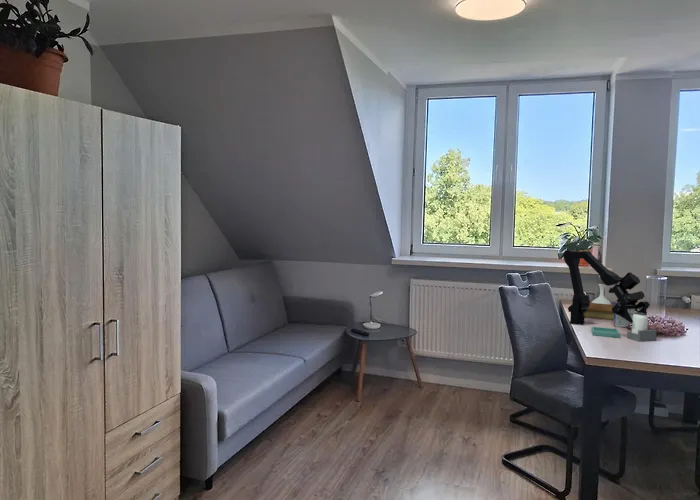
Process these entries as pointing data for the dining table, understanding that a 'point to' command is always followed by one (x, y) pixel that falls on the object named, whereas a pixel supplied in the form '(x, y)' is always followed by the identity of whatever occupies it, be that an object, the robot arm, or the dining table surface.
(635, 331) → the can
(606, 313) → the diary
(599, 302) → the flower in vase
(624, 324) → the ink cartridge box
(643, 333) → the bay
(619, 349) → the dining table surface
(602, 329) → the tray
